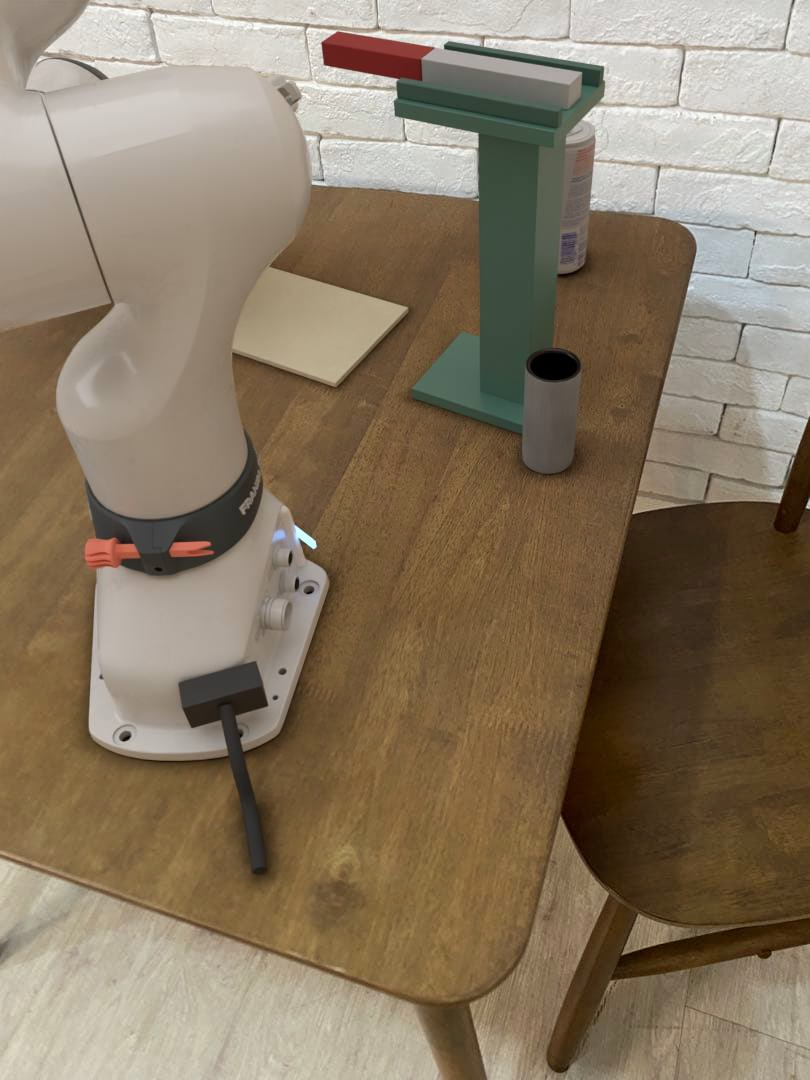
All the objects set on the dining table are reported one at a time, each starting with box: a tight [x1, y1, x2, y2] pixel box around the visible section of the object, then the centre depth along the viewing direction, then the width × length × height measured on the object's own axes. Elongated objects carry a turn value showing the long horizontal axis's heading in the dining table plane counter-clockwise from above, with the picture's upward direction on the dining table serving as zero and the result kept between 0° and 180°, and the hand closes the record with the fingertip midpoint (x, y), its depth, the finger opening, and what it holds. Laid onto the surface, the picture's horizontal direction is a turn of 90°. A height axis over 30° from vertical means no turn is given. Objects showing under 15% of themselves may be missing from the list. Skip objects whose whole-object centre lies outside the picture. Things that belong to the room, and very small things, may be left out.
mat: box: [232, 266, 409, 388], centre depth 100 cm, size 24×14×1 cm, turn 59°
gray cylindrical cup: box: [521, 347, 583, 475], centre depth 79 cm, size 4×4×10 cm
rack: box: [393, 40, 606, 436], centre depth 79 cm, size 13×10×29 cm
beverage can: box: [557, 119, 597, 275], centre depth 98 cm, size 6×6×15 cm
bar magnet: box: [320, 30, 582, 110], centre depth 70 cm, size 21×2×2 cm, turn 59°
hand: (262, 112), depth 82 cm, fingers open, 8 cm apart
